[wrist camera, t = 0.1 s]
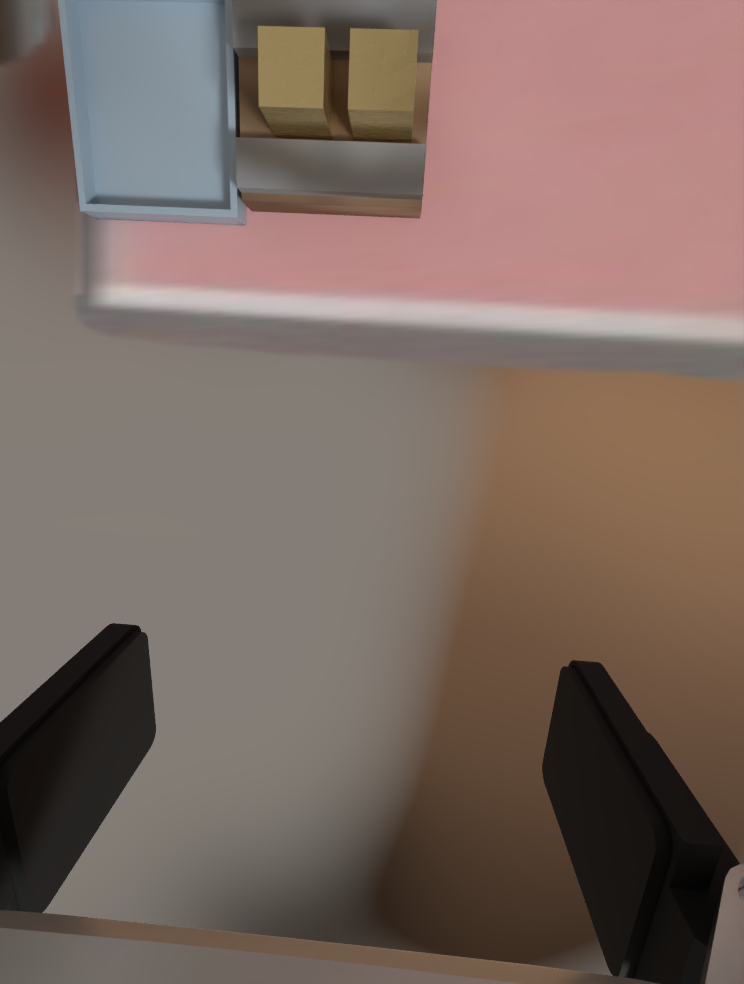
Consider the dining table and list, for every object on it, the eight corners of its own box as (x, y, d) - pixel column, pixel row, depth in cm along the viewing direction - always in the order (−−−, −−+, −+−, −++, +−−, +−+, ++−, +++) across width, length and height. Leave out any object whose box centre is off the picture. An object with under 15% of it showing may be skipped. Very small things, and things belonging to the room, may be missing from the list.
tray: (75, -3, 33) (54, -26, 31) (241, 1, 32) (231, -22, 30) (96, 218, 37) (80, 210, 35) (246, 225, 36) (237, 217, 34)
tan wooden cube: (275, 67, 31) (257, 25, 27) (334, 69, 31) (324, 27, 27) (275, 136, 32) (258, 106, 28) (332, 138, 32) (323, 108, 28)
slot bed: (249, 19, 33) (231, -21, 29) (433, 23, 32) (437, -16, 29) (252, 211, 36) (237, 195, 32) (419, 218, 35) (422, 203, 32)
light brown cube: (356, 69, 31) (350, 28, 27) (416, 71, 31) (418, 30, 27) (353, 139, 32) (347, 109, 28) (411, 141, 32) (413, 111, 28)
